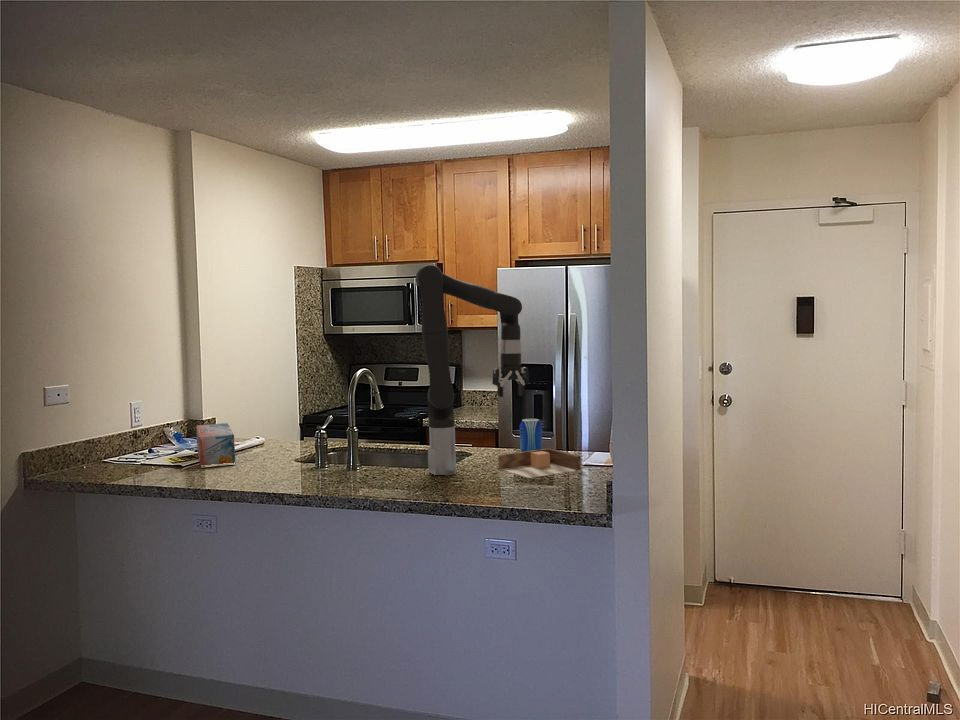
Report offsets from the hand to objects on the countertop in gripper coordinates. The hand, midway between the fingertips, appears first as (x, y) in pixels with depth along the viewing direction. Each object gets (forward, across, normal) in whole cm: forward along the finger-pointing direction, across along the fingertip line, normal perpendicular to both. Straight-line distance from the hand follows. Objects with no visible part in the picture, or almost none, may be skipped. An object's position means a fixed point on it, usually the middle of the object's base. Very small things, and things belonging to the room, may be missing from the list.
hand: (510, 396), depth 294 cm
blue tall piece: (+27, +14, +8) cm, 32 cm away
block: (+26, +8, -7) cm, 28 cm away
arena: (+27, +5, -11) cm, 29 cm away
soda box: (+30, -87, +94) cm, 132 cm away
